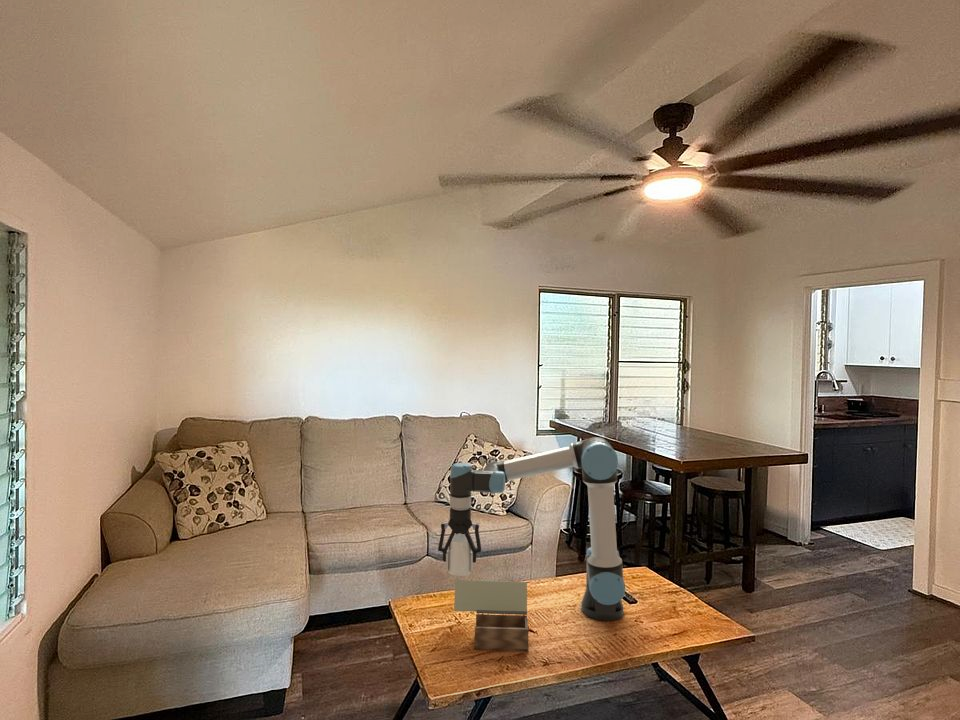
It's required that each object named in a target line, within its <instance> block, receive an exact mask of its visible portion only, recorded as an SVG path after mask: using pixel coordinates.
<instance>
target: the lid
mask: <svg viewBox="0 0 960 720" xmlns="http://www.w3.org/2000/svg"><path fill="white" fill-rule="evenodd" d="M453 605H454V607H453V610H454V612H473V613H474V612H475V613H476V614H488V615H522V616H528V582H527V581H504V580H503V581H501V580H500V581H498V580H467V579H465V580H463V579H462V580H461V579H455V581H454V604H453Z"/></svg>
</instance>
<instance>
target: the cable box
mask: <svg viewBox="0 0 960 720" xmlns="http://www.w3.org/2000/svg"><path fill="white" fill-rule="evenodd" d="M474 650H475V651H495V652H497V651H498V652H500V651H501V652H505V651H506V652H529V621H528V615H517V614H483V613H476V614H475V626H474Z"/></svg>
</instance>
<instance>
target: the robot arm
mask: <svg viewBox="0 0 960 720" xmlns="http://www.w3.org/2000/svg"><path fill="white" fill-rule="evenodd" d="M618 459H619V458H618V454H617V452H616V451H615V449H614V447H613V446H612V444H611V443H610V442H609V441H608V440H606V439H605V438H603V437H596V436H595V437H589V438H586V439H583V440H579V441H575V442H571V443H570V445H569V446H565V447H561V448H557V449H552V450H548V451H542V452H538V453H534V454H529V455H524V456H520V457H517V458H511V459H507V460H503V461H491V462H489V463H488V464H486V465H485V466H484V468H483V470H480V469H478V470H477V469H473V468H472V467H473V466H472V464H471V463H468V462H467V463H466V462H455V463H453V464H452V465H451V466H450V476H449V485H450V487H449V488H450V489H449V507H450V508H449V520H448V521H446V522H445V521H442V522H441V524H440V529H441V532H440V538H439V542H438V543H439V544H438V546H437V551H438V552H440V553H442V562H445V572H446V573H449V572H448V570H449V545H450V543H451V541H452V539H453V537H454V535H465V536H466V538H467V540H468V543H469V545H470V548H471V567H470V574H473V572H474V563H476V562H477V554H478V553H481V552H482V543H481V537H480V530H479V529H480V528H479V527H480V523H479V522H476V523H474V522H473V521H472V518H471V516H472V509H471V506H472V492H474V493H475V492H477V493H489V494H502V493H504V491H505V487H506V482H508V481H513V480H518V479H522V478H523V479H524V478H527V477H532V476H533V477H534V476H537V475H542V474H545V473H546V474H547V473H550V472H555V471H560V470H565V469H570V468H576V469H581V472H582V473H581V474H582V482H583V483H584V484H585V485H586V486H587V497H588V498H587V500H588V517H589V519H588V520H589V534H590V547H588V548H587V550H586V554H585V556H586V588H585V590H584V594H583V597H582V599H581V602H580V603H581V606H580V608H581V609H580V610H581V612H582V613H583V614H584V615H585V616H587V617H588V618H591V619H594V620H598V621H604V622H605V621H606V622H609V621H610V622H611V621H616V620H618V619H621V618H622V617H623V616H624V609H625V608H624V604H623V601H622V599H623V598H624V596H625V593H626V583H625V580H624V571H623V559H622V558H621V557H620V552H619V550H618V547H617V546H618V545H617V530H616V527H617V526H616V511H615V496H614V495H615V494H614V493H615V492H614V485H615V484H616V483H617V482H618V469H617V468H618V465H619V460H618ZM448 527H449V528H450V529H451V532H450V534H449V536H448V539H447V541H446V543H445V545H443V544H444V539H445V534H446V530H447V529H448ZM471 527H472V529H473V530H474V535H475V536H474V537H475V541H476V546H475V543H474V540H473V539H472V536H471V533H470V529H471Z"/></svg>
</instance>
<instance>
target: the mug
mask: <svg viewBox="0 0 960 720" xmlns="http://www.w3.org/2000/svg"><path fill="white" fill-rule="evenodd" d="M448 551H449V570H448V572H447V573H448V574H450V575H452V576H455V577H463V576H468V575H470V574H471V573H470V567H471V552H472V550H471V548H470V545H469V543H468V540H467V538H466V536H465V534H454V537H453V539H452V541H451V543H450V545H449V547H448Z"/></svg>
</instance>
